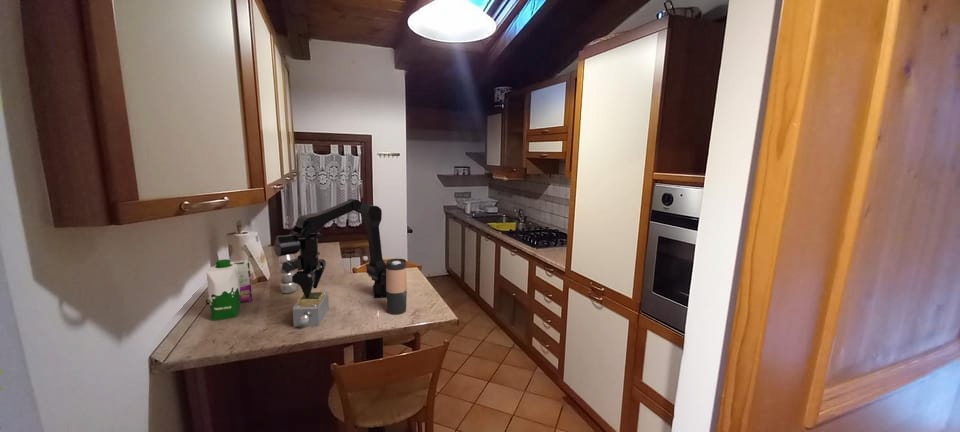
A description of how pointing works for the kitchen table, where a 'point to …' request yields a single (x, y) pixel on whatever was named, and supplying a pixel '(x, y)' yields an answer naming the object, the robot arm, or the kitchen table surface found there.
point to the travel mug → (396, 286)
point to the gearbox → (310, 309)
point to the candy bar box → (244, 279)
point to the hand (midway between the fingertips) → (311, 292)
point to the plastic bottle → (287, 275)
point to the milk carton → (223, 290)
